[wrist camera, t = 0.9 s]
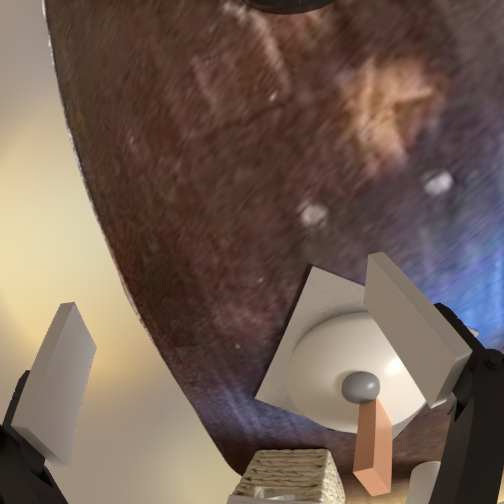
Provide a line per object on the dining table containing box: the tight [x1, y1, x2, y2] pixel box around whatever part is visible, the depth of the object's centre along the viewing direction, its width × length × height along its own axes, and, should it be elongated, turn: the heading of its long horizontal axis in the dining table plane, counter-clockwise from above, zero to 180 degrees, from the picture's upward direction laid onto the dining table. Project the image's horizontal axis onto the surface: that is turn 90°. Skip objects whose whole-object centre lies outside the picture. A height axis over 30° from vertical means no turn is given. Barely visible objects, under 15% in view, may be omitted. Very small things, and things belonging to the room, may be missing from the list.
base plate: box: [255, 265, 479, 440], centre depth 39 cm, size 24×24×1 cm
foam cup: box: [406, 461, 441, 504], centre depth 37 cm, size 10×9×13 cm
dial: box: [286, 312, 426, 496], centre depth 33 cm, size 20×20×14 cm
